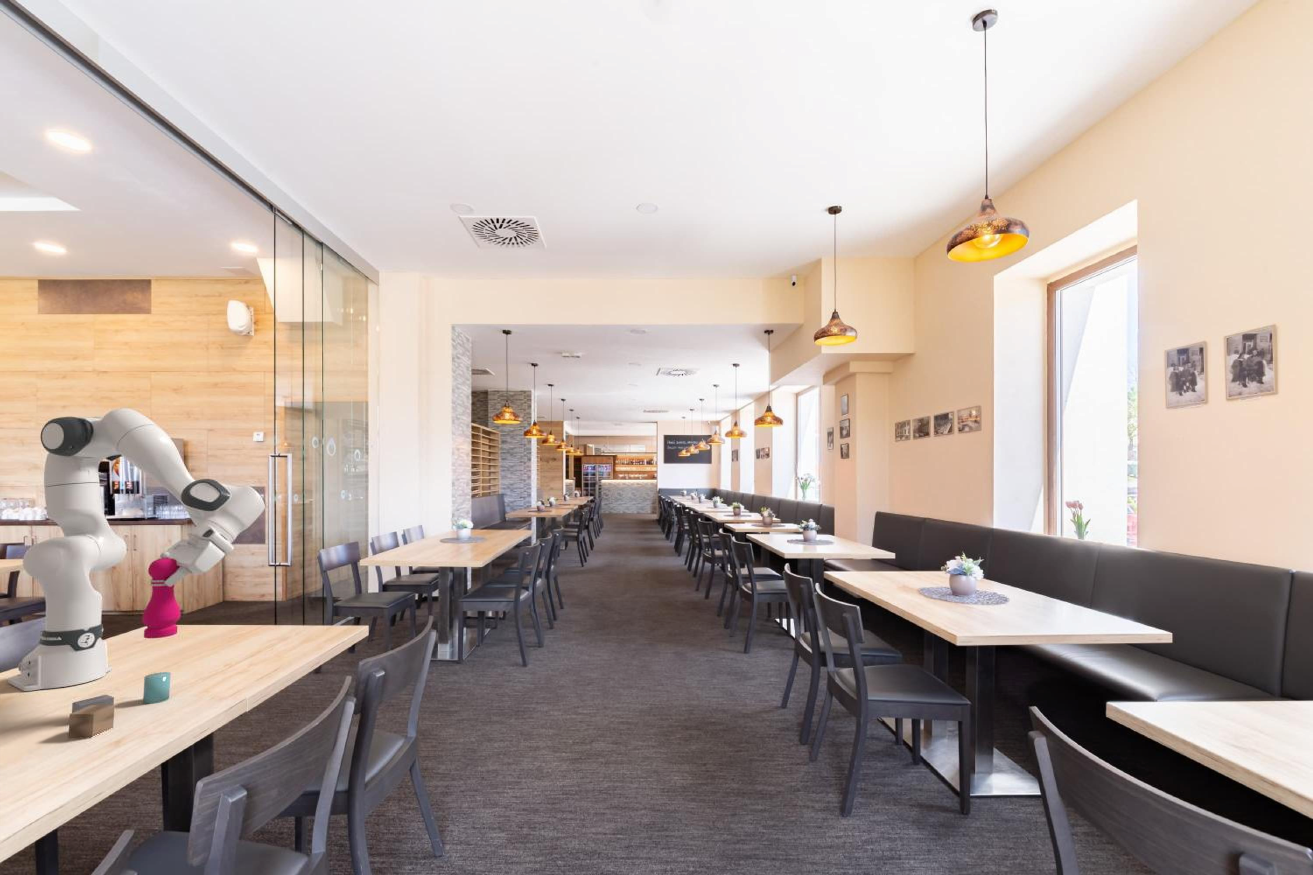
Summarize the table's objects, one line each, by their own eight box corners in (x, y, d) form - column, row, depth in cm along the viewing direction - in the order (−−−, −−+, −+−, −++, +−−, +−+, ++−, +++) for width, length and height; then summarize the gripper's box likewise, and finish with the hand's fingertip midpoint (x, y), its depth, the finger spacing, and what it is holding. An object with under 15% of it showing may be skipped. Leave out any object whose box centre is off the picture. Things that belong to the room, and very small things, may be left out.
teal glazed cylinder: (138, 702, 148) (139, 677, 148) (160, 695, 152) (161, 671, 153) (151, 704, 146) (153, 679, 146) (174, 697, 151) (175, 673, 151)
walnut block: (68, 738, 127) (69, 713, 128) (90, 728, 132) (91, 705, 133) (92, 738, 127) (93, 713, 128) (113, 728, 132) (114, 704, 133)
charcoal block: (71, 720, 137) (72, 702, 137) (104, 711, 142) (106, 694, 142) (79, 724, 135) (80, 705, 135) (112, 714, 140) (113, 697, 140)
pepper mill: (186, 632, 148) (191, 550, 149) (154, 640, 141) (158, 554, 143) (166, 630, 150) (171, 549, 152) (133, 637, 144) (138, 552, 145)
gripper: (180, 529, 159) (131, 571, 150) (218, 533, 148) (168, 579, 139) (199, 544, 162) (152, 587, 153) (237, 549, 152) (189, 595, 143)
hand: (160, 583), depth 146 cm, fingers closed on pepper mill, 5 cm apart
